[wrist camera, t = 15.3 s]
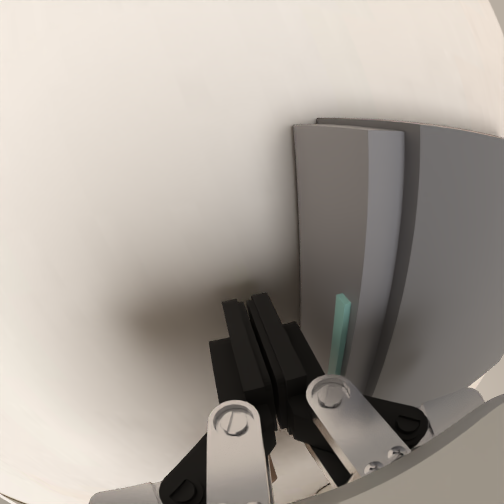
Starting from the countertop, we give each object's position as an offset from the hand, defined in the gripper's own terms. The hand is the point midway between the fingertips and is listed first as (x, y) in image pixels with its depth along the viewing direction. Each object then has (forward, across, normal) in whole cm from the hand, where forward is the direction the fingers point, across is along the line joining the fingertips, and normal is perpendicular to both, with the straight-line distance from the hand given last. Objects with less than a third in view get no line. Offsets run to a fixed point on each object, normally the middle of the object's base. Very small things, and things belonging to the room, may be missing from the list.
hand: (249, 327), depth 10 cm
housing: (+1, -10, 0) cm, 10 cm away
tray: (+1, -9, 0) cm, 9 cm away
